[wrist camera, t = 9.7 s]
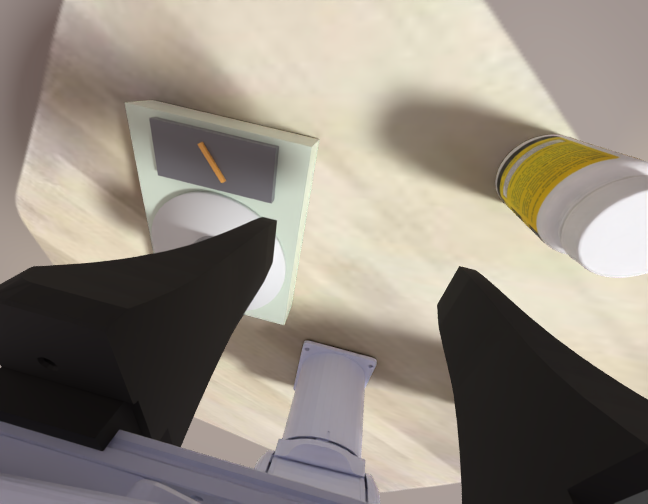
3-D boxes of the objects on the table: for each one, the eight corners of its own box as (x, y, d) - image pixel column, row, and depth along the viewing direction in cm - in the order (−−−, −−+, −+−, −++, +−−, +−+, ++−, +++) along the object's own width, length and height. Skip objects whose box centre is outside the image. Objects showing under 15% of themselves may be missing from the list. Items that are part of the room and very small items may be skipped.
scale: (291, 306, 27) (281, 331, 25) (177, 276, 28) (155, 297, 25) (319, 139, 19) (308, 149, 16) (152, 99, 19) (113, 103, 16)
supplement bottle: (481, 201, 19) (540, 273, 12) (514, 127, 16) (615, 164, 9) (553, 213, 19) (659, 295, 12) (600, 140, 16) (771, 188, 9)
